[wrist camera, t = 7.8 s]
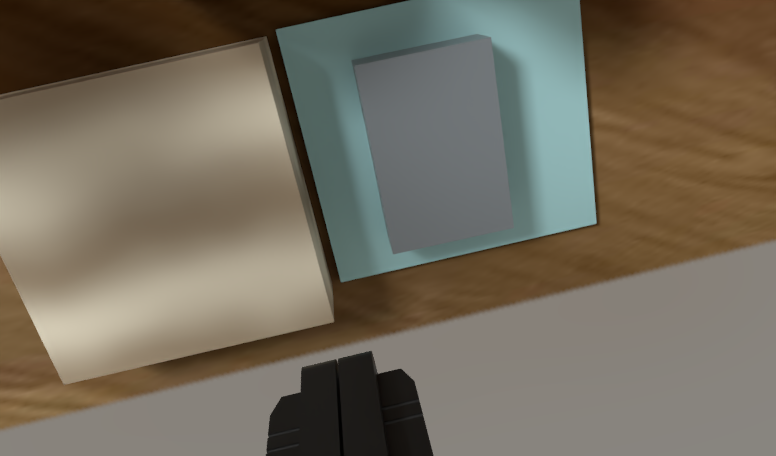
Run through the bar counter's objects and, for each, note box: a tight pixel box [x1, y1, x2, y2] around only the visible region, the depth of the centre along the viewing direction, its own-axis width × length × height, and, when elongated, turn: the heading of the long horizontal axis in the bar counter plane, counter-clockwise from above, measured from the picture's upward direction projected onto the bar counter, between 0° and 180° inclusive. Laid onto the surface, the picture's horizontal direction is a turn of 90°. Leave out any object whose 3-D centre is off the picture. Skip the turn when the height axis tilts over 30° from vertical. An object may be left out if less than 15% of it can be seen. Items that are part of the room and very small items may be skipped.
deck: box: [0, 36, 334, 385], centre depth 28 cm, size 13×13×4 cm
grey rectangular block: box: [351, 34, 514, 254], centre depth 29 cm, size 9×6×2 cm, turn 11°
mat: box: [276, 0, 597, 282], centre depth 30 cm, size 13×14×1 cm
